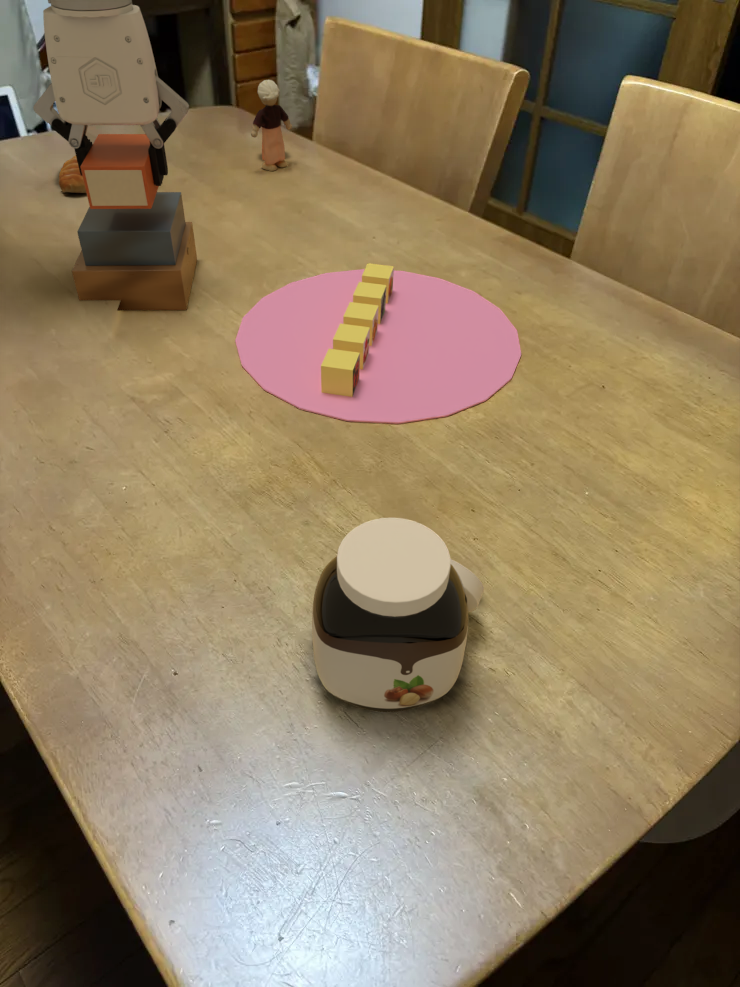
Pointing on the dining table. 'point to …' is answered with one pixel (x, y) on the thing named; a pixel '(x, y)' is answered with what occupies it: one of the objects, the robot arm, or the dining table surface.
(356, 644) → the spread jar
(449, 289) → the platter
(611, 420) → the dining table surface
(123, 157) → the orange box
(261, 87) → the grandmother figurine
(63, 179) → the pastry
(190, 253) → the box stack
